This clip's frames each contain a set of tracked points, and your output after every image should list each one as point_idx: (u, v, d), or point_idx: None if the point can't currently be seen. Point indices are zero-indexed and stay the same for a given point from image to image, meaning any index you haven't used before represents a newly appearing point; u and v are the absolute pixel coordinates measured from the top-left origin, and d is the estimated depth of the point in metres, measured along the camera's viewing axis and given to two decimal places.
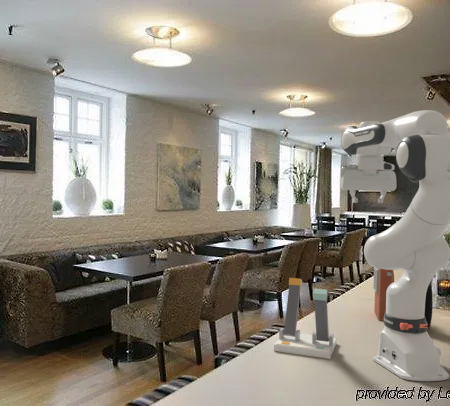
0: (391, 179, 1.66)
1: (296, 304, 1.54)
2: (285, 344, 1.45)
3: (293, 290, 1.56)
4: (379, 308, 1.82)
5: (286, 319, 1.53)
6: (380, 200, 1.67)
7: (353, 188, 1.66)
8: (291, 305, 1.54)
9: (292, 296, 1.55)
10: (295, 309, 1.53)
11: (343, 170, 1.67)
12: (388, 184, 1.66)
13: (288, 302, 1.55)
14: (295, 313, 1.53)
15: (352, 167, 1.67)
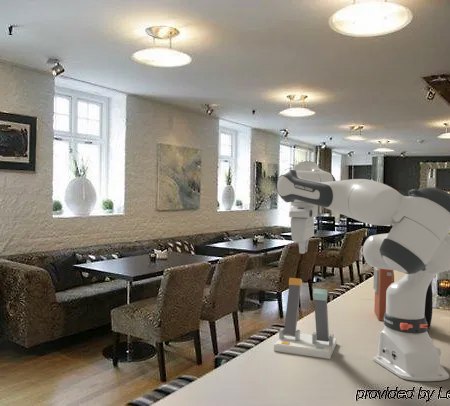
0: None
1: (296, 304, 1.54)
2: (285, 344, 1.45)
3: (293, 290, 1.56)
4: (379, 308, 1.82)
5: (286, 319, 1.53)
6: None
7: None
8: (291, 305, 1.54)
9: (292, 296, 1.55)
10: (295, 309, 1.53)
11: None
12: None
13: (288, 302, 1.55)
14: (295, 313, 1.53)
15: None
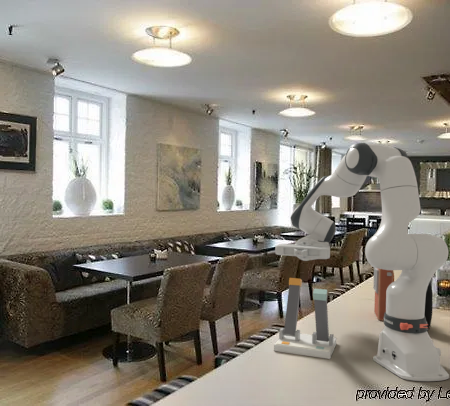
0: (324, 247, 1.67)
1: (296, 304, 1.54)
2: (285, 344, 1.45)
3: (293, 290, 1.56)
4: (379, 308, 1.82)
5: (286, 319, 1.53)
6: (300, 250, 1.63)
7: (285, 245, 1.69)
8: (291, 305, 1.54)
9: (292, 296, 1.55)
10: (295, 309, 1.53)
11: None
12: (321, 247, 1.66)
13: (288, 302, 1.55)
14: (295, 313, 1.53)
15: None
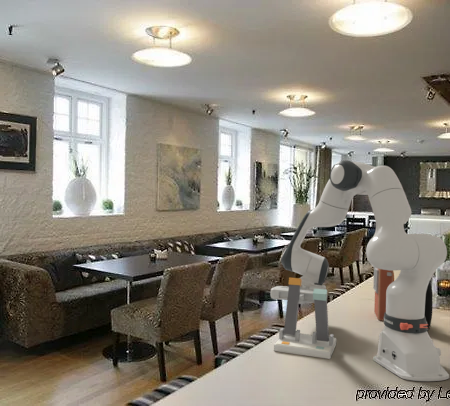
0: None
1: (296, 304, 1.54)
2: (285, 344, 1.45)
3: (293, 290, 1.56)
4: (379, 308, 1.82)
5: (286, 319, 1.53)
6: None
7: (281, 289, 1.64)
8: (291, 305, 1.54)
9: (292, 296, 1.55)
10: (295, 309, 1.53)
11: None
12: None
13: (288, 302, 1.55)
14: (295, 313, 1.53)
15: None
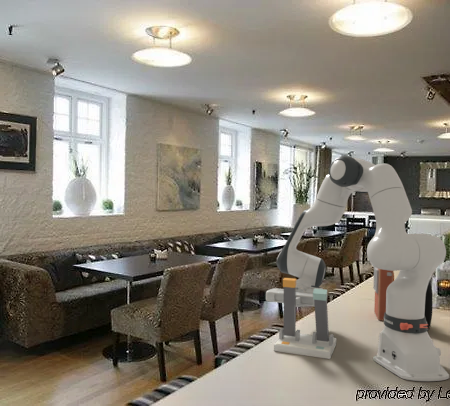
0: None
1: (293, 306, 1.49)
2: (285, 344, 1.45)
3: (288, 292, 1.49)
4: (379, 308, 1.82)
5: (284, 321, 1.51)
6: None
7: (276, 292, 1.58)
8: (288, 307, 1.50)
9: (288, 298, 1.49)
10: (292, 311, 1.49)
11: None
12: None
13: (284, 304, 1.50)
14: (293, 315, 1.49)
15: None
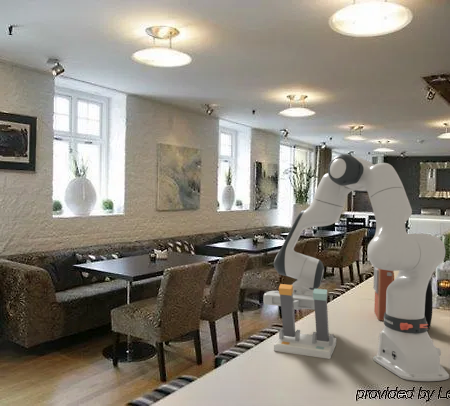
0: None
1: (291, 312, 1.46)
2: (285, 344, 1.45)
3: (285, 299, 1.45)
4: (379, 308, 1.82)
5: (283, 324, 1.49)
6: None
7: (274, 295, 1.56)
8: (286, 312, 1.47)
9: (285, 304, 1.46)
10: (291, 316, 1.47)
11: None
12: None
13: (282, 310, 1.47)
14: (291, 319, 1.48)
15: None
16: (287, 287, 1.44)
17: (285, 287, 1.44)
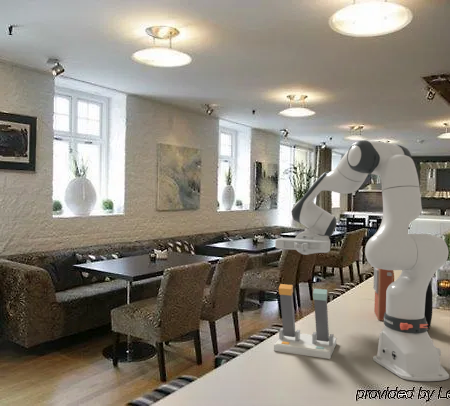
0: (324, 240, 1.67)
1: (291, 312, 1.46)
2: (285, 344, 1.45)
3: (285, 299, 1.45)
4: (379, 308, 1.82)
5: (283, 324, 1.49)
6: (300, 244, 1.63)
7: (285, 239, 1.69)
8: (286, 312, 1.47)
9: (285, 305, 1.46)
10: (291, 316, 1.47)
11: None
12: None
13: (282, 310, 1.47)
14: (291, 319, 1.48)
15: None
16: (287, 287, 1.44)
17: (285, 287, 1.44)
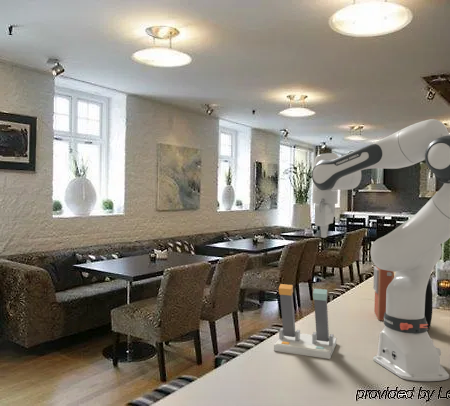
0: (332, 212, 1.69)
1: (291, 312, 1.46)
2: (285, 344, 1.45)
3: (285, 299, 1.45)
4: (379, 308, 1.82)
5: (283, 324, 1.49)
6: (326, 234, 1.63)
7: (326, 223, 1.56)
8: (286, 312, 1.47)
9: (285, 305, 1.46)
10: (291, 316, 1.47)
11: (321, 205, 1.53)
12: (332, 217, 1.68)
13: (282, 310, 1.47)
14: (291, 319, 1.48)
15: (323, 201, 1.56)
16: (287, 287, 1.44)
17: (285, 287, 1.44)
